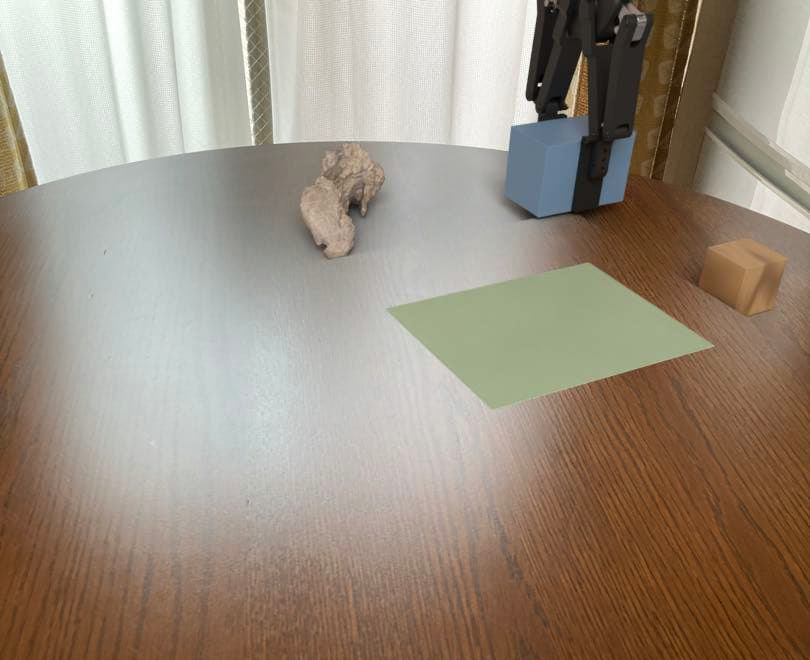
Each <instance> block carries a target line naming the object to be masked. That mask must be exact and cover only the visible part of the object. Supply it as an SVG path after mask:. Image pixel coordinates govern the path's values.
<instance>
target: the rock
mask: <svg viewBox="0 0 810 660" xmlns="http://www.w3.org/2000/svg"><path fill="white" fill-rule="evenodd" d="M340 149H341V150H340ZM340 149H335V150H334V149H329V150H325V152H324V154H325V156H324V157H321V159H320V161H321V162H320V173H321V176H318V177H317V178H316V179H315V182H314V184H313V185H311V186H304V190H303V191H302V192H301V197H300V203H299V210H300V213H301V217H302V219H303V221H304V223H305V225H306V226H307V227H308V229H309V231H310V232H311V235H312V236H313V239H314V241H315V243H316V245H317V246H321V245H325V246H326V248H325V249H324V250H323V254H325V255H326V257H327V258H328V259H330V260H334V259H339V258H344V257H347V256H348V254H349V253H350V251H351V250H352V249H353V247H354V246H355V237H356V226H355V225H354V224H353V219H352V218H351V216H349V215H348V212H349V207H350V204H353V203H354V204H356V205H358V206H359V207H358V210H359V212H360V216H361V217H364V216H365V214H366V213H367V209H368V207H367V206H368V202H370V200H372V198H373V197H374V196H375V195H376V194H377V193H378V192H379V191H380V190H381V188H382V186H383V185H384V183H385V180H386V176H385V173H384V168H383V166H381V164H380V163H379V162H377V161H375V160H374V159H372V158H371V153H370V152H369V151H367V150H364V149H362V147H361V143H359V142H352V141H350V142H349V141H344V142H343V143H342V145H341V148H340Z"/></svg>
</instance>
